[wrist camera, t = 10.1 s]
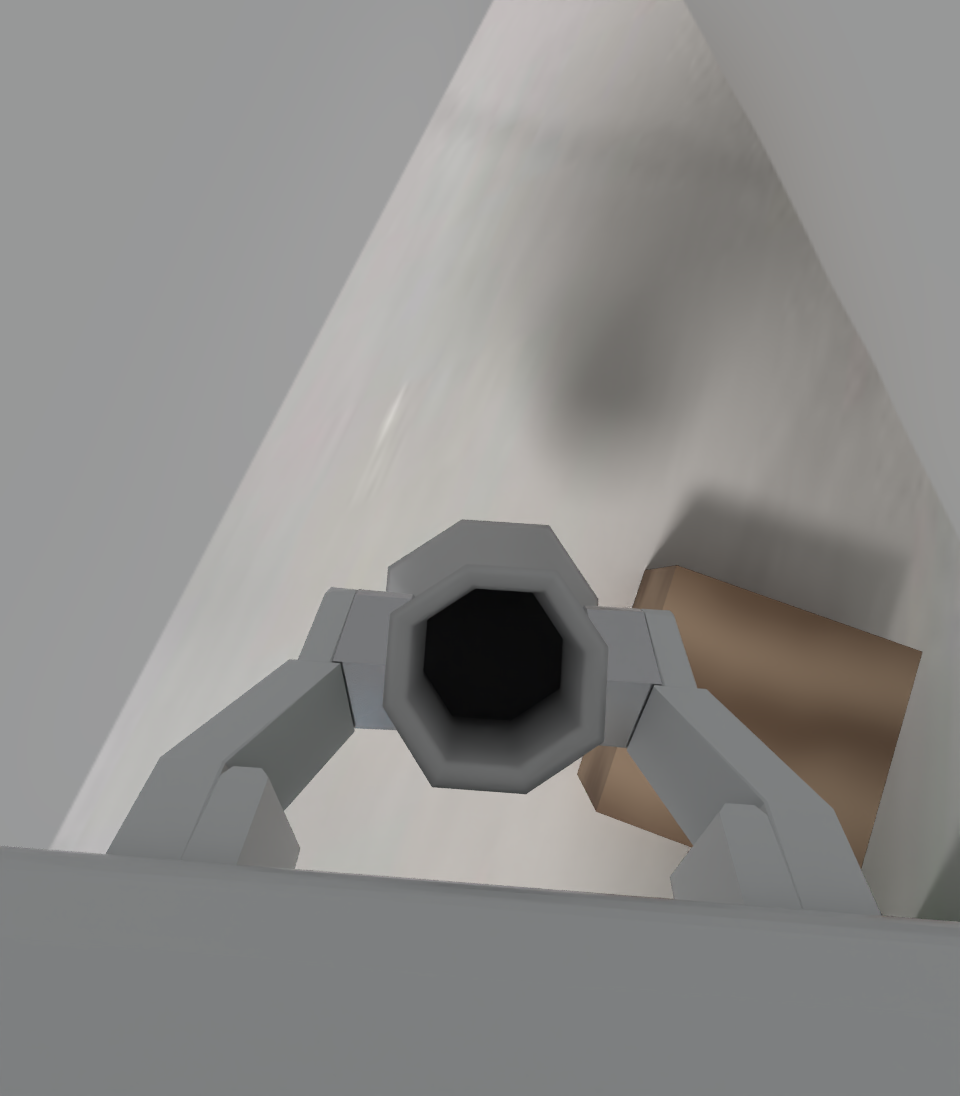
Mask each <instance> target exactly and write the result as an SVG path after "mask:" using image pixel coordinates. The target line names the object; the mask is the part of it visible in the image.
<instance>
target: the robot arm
mask: <svg viewBox="0 0 960 1096" xmlns="http://www.w3.org/2000/svg"><path fill="white" fill-rule="evenodd" d="M413 598H415V596H414V594H405V593H394V592H383V591H372V590H361V589H359V590H355V589H345V588H334V587H331V588H330V589H329V590H328V591H327V592H326V593H325V595H324V597H323V600H322V602H321V605H320V607H319V610H318V612H317V614H316V617H315V619H314V622H313V624H312V627H311V629H310V631H309V634H308V636H307V639H306V641H305V644H304V646H303V649H302V651H301V653H300V656H299V658H298V660H290V659H289V660H288V661H287V662H285V663H284V664H283V665H281V666H280V667H279V668H277V669H276V670H275V671H273V672H272V673H271V674H269V675H268V676H267V677H265V678H264V679H263V680H262V681H260V682H259V683H258V684H256V685H255V686H254V687H252V688H251V689H250V690H248V691H247V692H246V693H244V694H243V695H242V696H240V697H239V698H238V699H236V700H235V701H234V702H233V703H231V704H230V705H229V706H227V707H226V708H225V709H223V710H222V711H221V712H219V713H218V714H217V715H215V716H214V717H213V718H211V719H210V720H209V721H208V722H206V723H205V724H204V725H202V726H201V727H200V728H198V729H197V730H196V731H194V732H193V733H192V734H190V735H189V736H188V737H186V738H185V739H184V740H183V741H181V742H180V743H179V744H177V745H176V746H175V747H173V748H172V749H171V750H169V751H168V752H167V753H165V754H164V755H163V756H161V757H160V759H159V760H158V762H157V764H156V766H155V768H154V769H153V771H152V773H151V775H150V776H149V778H148V780H147V782H146V783H145V785H144V787H143V789H142V791H141V792H140V794H139V796H138V798H137V799H136V801H135V803H134V805H133V806H132V808H131V810H130V812H129V814H128V815H127V817H126V819H125V821H124V822H123V824H122V826H121V828H120V829H119V831H118V833H117V835H116V837H115V838H114V840H113V842H112V844H111V845H110V847H109V849H108V851H107V852H106V854H97V853H84V852H72V851H59V850H46V849H33V848H21V847H8V846H0V1096H960V922H956V921H943V920H930V919H918V918H905V917H893V916H882V914H881V912H880V910H879V908H878V906H877V903H876V901H875V899H874V897H873V895H872V892H871V890H870V888H869V886H868V884H867V881H866V879H865V877H864V875H863V873H862V870H861V868H860V866H859V864H858V862H857V859H856V857H855V855H854V853H853V851H852V848H851V846H850V844H849V842H848V840H847V837H846V835H845V833H844V831H843V829H842V826H841V824H840V822H839V820H838V818H837V815H836V813H835V811H834V809H833V808H832V807H831V806H830V805H829V804H828V803H827V802H825V801H824V800H823V799H822V798H821V797H820V796H819V795H818V794H817V793H816V792H815V791H814V790H813V789H812V788H811V787H810V786H809V785H807V784H806V783H805V782H804V781H803V780H802V779H801V778H800V777H799V776H798V775H797V774H796V773H795V772H794V771H793V770H792V769H791V768H789V767H788V766H787V765H786V764H785V763H784V762H783V761H782V760H781V759H780V758H779V757H778V756H777V755H776V754H775V753H774V752H773V751H771V750H770V749H769V748H768V747H767V746H766V745H765V744H764V743H763V742H762V741H761V740H760V739H759V738H758V737H757V736H756V735H755V734H753V733H752V732H751V731H750V730H749V729H748V728H747V727H746V726H745V725H744V724H743V723H742V722H741V721H740V720H739V719H738V718H737V717H735V716H734V715H733V714H732V713H731V712H730V711H729V710H728V709H727V708H726V707H725V706H724V705H723V704H722V703H721V702H720V701H719V700H717V699H716V698H715V697H714V696H713V695H712V694H711V693H710V692H709V691H708V690H707V689H700V688H697V685H696V682H695V679H694V676H693V673H692V670H691V667H690V663H689V660H688V657H687V654H686V651H685V648H684V645H683V642H682V639H681V635H680V632H679V629H678V626H677V623H676V620H675V617H674V614H673V613H672V612H671V611H670V610H653V609H636V608H619V607H602V606H585V605H584V606H583V609H584V611H585V612H586V614H587V615H588V617H589V618H590V620H591V621H592V623H593V624H594V626H595V627H596V629H597V631H598V632H599V634H600V635H601V637H602V638H603V640H604V641H605V643H606V644H607V646H608V647H609V649H608V670H607V691H606V712H605V733H604V742H603V743H601V744H600V746H610V747H620V748H627V752H628V753H629V755H630V756H631V758H632V759H633V760H634V762H635V763H636V765H637V766H638V768H639V769H640V770H641V772H642V773H643V775H644V776H645V778H646V779H647V780H648V782H649V783H650V785H651V786H652V788H653V789H654V790H655V792H656V793H657V795H658V796H659V798H660V799H661V800H662V802H663V803H664V805H665V806H666V808H667V809H668V810H669V812H670V813H671V815H672V816H673V817H674V819H675V820H676V822H677V823H678V825H679V826H680V827H681V829H682V830H683V832H684V833H685V835H686V836H687V837H688V839H689V840H690V842H691V843H692V845H693V847H692V848H691V849H690V851H689V852H688V853H687V855H686V856H685V857H684V859H683V860H682V861H681V863H680V864H679V865H678V867H677V868H676V869H675V871H674V872H673V873H672V875H671V876H670V880H671V886H672V891H673V896H674V899H666V898H653V897H641V896H628V895H615V894H603V893H590V892H578V891H565V890H552V889H540V888H527V887H515V886H502V885H489V884H477V883H464V882H452V881H439V880H426V879H414V878H401V877H389V876H376V875H363V874H351V873H338V872H325V871H313V870H300V869H295V866H296V862H297V859H298V855H299V852H300V847H299V844H298V842H297V840H296V838H295V835H294V833H293V831H292V829H291V827H290V824H289V822H288V820H287V818H286V815H285V813H284V810H285V809H286V808H287V807H288V806H289V805H290V804H291V802H292V801H293V800H294V799H295V798H296V797H297V796H298V795H299V793H300V792H301V791H302V790H303V789H304V788H305V787H306V786H307V784H308V783H309V782H310V781H311V780H312V779H313V778H314V776H315V775H316V774H317V773H318V772H319V771H320V770H321V769H322V767H323V766H324V765H325V764H326V763H327V762H328V761H329V760H330V758H331V757H332V756H333V755H334V754H335V753H336V752H337V751H338V749H339V748H340V747H341V746H342V745H343V744H344V743H345V742H346V740H347V739H348V738H349V737H350V736H351V735H352V734H353V732H354V728H362V729H383V730H397V729H396V728H395V726H394V725H393V723H392V721H391V720H390V718H389V716H388V715H387V713H386V712H385V710H384V708H383V707H382V705H383V693H384V680H385V668H386V656H387V644H388V632H389V619H390V613H391V612H393V611H395V610H396V609H398V608H399V607H401V606H402V605H404V604H405V603H407V602H408V601H410V600H412V599H413Z"/></svg>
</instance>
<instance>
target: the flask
mask: <svg viewBox="0 0 960 1096" xmlns="http://www.w3.org/2000/svg"><path fill="white" fill-rule="evenodd" d="M386 592H394V593H405V594H414V596H415V598H413V599H412V600H410V601H408V602H407V603H405V604H404V605H402V606H401V607H399V608H398V609H396V610H395V611H393V612H391V613H390V619H389V632H388V644H387V656H386V668H385V680H384V693H383V705H382V707H383V708H384V710H385V712H386V713H387V715H388V716H389V718H390V720H391V721H392V723H393V725H394V726H395V728H396V729H397V731H398V733H399V734H400V736H401V737H402V739H403V741H404V742H405V744H406V746H407V747H408V749H409V750H410V752H411V754H412V755H413V757H414V759H415V760H416V762H417V763H418V765H419V767H420V768H421V770H422V771H423V773H424V775H425V776H426V778H427V780H428V781H429V783H430V784H431V786H432V787H438V788H451V789H464V790H478V791H491V792H505V793H518V794H527V793H528V792H530V791H531V790H533V789H534V788H536V787H537V786H539V785H540V784H542V783H543V782H545V781H546V780H548V779H549V778H551V777H552V776H554V775H555V774H557V773H558V772H560V771H561V770H563V769H564V768H566V767H567V766H569V765H570V764H572V763H573V762H575V761H576V760H578V759H579V758H581V757H582V756H583V755H585V754H586V753H588V752H589V751H591V750H592V749H594V748H595V747H597V746H598V745H600V744H601V743H603V742H604V733H605V712H606V691H607V670H608V649H609V647H608V646H607V644H606V643H605V641H604V640H603V638H602V637H601V635H600V634H599V632H598V631H597V629H596V627H595V626H594V624H593V623H592V621H591V620H590V618H589V617H588V615H587V614H586V612H585V611H584V609H583V606H584V605H585V606H598V598H597V596H596V595H595V593H594V592H593V590H592V589H591V587H590V586H589V584H588V583H587V581H586V580H585V578H584V577H583V575H582V574H581V572H580V571H579V569H578V568H577V566H576V565H575V563H574V562H573V560H572V559H571V557H570V556H569V554H568V553H567V551H566V550H565V548H564V547H563V545H562V544H561V542H560V541H559V539H558V538H557V536H556V535H555V533H554V532H553V530H552V529H551V527H550V526H549V525H537V524H522V523H507V522H492V521H477V520H460V521H459V522H457V523H456V524H454V525H453V526H451V527H450V528H448V529H446V530H445V531H443V532H442V533H440V534H439V535H437V536H436V537H434V538H432V539H431V540H429V541H428V542H426V543H425V544H423V545H422V546H420V547H418V548H417V549H415V550H414V551H412V552H411V553H409V554H408V555H406V556H404V557H403V558H401V559H400V560H398V561H397V562H395V563H394V564H392V565H391V566H389V567H388V575H387V587H386Z"/></svg>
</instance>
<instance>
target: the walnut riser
mask: <svg viewBox="0 0 960 1096" xmlns="http://www.w3.org/2000/svg"><path fill="white" fill-rule="evenodd" d="M633 608H636V609H653V610H670V611H671V612H672V613H673V614H674V617H675V620H676V623H677V626H678V629H679V632H680V635H681V639H682V642H683V645H684V648H685V651H686V654H687V657H688V660H689V663H690V667H691V670H692V673H693V676H694V679H695V682H696V685H697V688H700V689H707V690H708V691H709V692H710V693H711V694H712V695H713V696H714V697H715V698H716V699H717V700H719V701H720V702H721V703H722V704H723V705H724V706H725V707H726V708H727V709H728V710H729V711H730V712H731V713H732V714H733V715H734V716H735V717H737V718H738V719H739V720H740V721H741V722H742V723H743V724H744V725H745V726H746V727H747V728H748V729H749V730H750V731H751V732H752V733H753V734H755V735H756V736H757V737H758V738H759V739H760V740H761V741H762V742H763V743H764V744H765V745H766V746H767V747H768V748H769V749H770V750H771V751H773V752H774V753H775V754H776V755H777V756H778V757H779V758H780V759H781V760H782V761H783V762H784V763H785V764H786V765H787V766H788V767H789V768H791V769H792V770H793V771H794V772H795V773H796V774H797V775H798V776H799V777H800V778H801V779H802V780H803V781H804V782H805V783H806V784H807V785H809V786H810V787H811V788H812V789H813V790H814V791H815V792H816V793H817V794H818V795H819V796H820V797H821V798H822V799H823V800H824V801H825V802H827V803H828V804H829V805H830V806H831V807H832V808H833V809H834V811H835V813H836V815H837V818H838V820H839V822H840V824H841V826H842V829H843V831H844V833H845V835H846V837H847V840H848V842H849V844H850V846H851V848H852V851H853V853H854V855H855V857H856V859H857V862H858V864H859V866H860V868H862V864H863V860H864V857H865V853H866V850H867V846H868V843H869V839H870V836H871V832H872V829H873V825H874V822H875V818H876V814H877V811H878V807H879V804H880V800H881V797H882V793H883V790H884V786H885V783H886V779H887V776H888V772H889V768H890V765H891V761H892V758H893V754H894V751H895V747H896V744H897V740H898V737H899V733H900V730H901V726H902V722H903V719H904V715H905V712H906V708H907V705H908V701H909V698H910V694H911V691H912V687H913V684H914V680H915V676H916V673H917V669H918V666H919V662H920V659H921V655H922V652H921V651H919V650H916V649H913V648H910V647H907V646H904V645H902V644H899V643H896V642H893V641H890V640H887V639H885V638H882V637H879V636H876V635H873V634H870V633H867V632H865V631H862V630H859V629H856V628H853V627H850V626H848V625H845V624H842V623H839V622H836V621H833V620H831V619H828V618H825V617H822V616H819V615H816V614H814V613H811V612H808V611H805V610H802V609H799V608H797V607H794V606H791V605H788V604H785V603H782V602H780V601H777V600H774V599H771V598H768V597H765V596H763V595H760V594H757V593H754V592H751V591H748V590H746V589H743V588H740V587H737V586H734V585H731V584H729V583H726V582H723V581H720V580H717V579H714V578H711V577H709V576H706V575H703V574H700V573H697V572H694V571H692V570H689V569H686V568H683V567H680V566H677V565H675V566H669V567H663V568H656V569H650V570H645V571H644V574H643V577H642V580H641V583H640V586H639V589H638V592H637V595H636V598H635V602H634V605H633ZM577 775H578V777H579V779H580V781H581V783H582V785H583V787H584V788H585V790H586V792H587V794H588V796H589V798H590V800H591V802H592V804H593V806H594V808H595V810H596V812H599V813H601V814H604V815H607V816H609V817H612V818H615V819H617V820H620V821H623V822H625V823H628V824H631V825H633V826H636V827H639V828H641V829H644V830H647V831H649V832H652V833H655V834H657V835H660V836H663V837H665V838H668V839H671V840H673V841H676V842H679V843H681V844H684V845H687V846H689V847H693V845H692V843H691V842H690V840H689V839H688V837H687V836H686V835H685V833H684V832H683V830H682V829H681V827H680V826H679V825H678V823H677V822H676V820H675V819H674V817H673V816H672V815H671V813H670V812H669V810H668V809H667V808H666V806H665V805H664V803H663V802H662V800H661V799H660V798H659V796H658V795H657V793H656V792H655V790H654V789H653V788H652V786H651V785H650V783H649V782H648V780H647V779H646V778H645V776H644V775H643V773H642V772H641V770H640V769H639V768H638V766H637V765H636V763H635V762H634V760H633V759H632V758H631V756H630V755H629V753H628V752H627V748H620V747H610V746H600V745H598V746H597V747H595V748H594V749H592V750H591V751H589V752H588V753H586V754H585V755H583V758H582V761H581V764H580V767H579V770H578V773H577Z"/></svg>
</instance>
